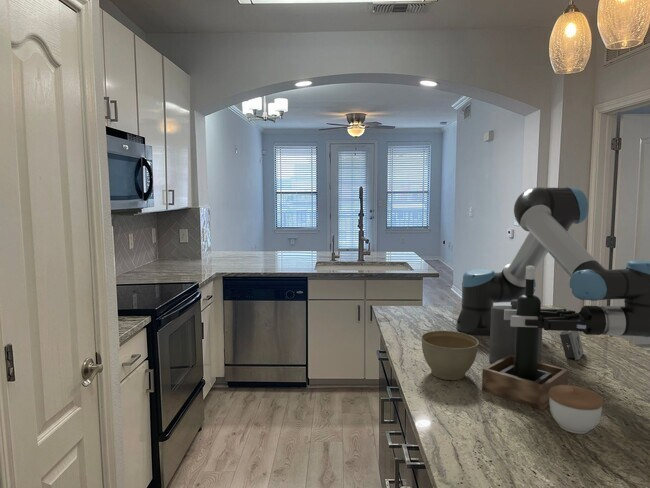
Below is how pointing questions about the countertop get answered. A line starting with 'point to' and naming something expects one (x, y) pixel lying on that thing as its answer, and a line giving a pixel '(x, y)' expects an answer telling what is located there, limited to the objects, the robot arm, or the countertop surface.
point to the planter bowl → (449, 353)
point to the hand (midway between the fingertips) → (507, 317)
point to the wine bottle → (527, 332)
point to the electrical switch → (572, 344)
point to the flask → (504, 334)
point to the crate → (522, 382)
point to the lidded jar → (575, 408)
